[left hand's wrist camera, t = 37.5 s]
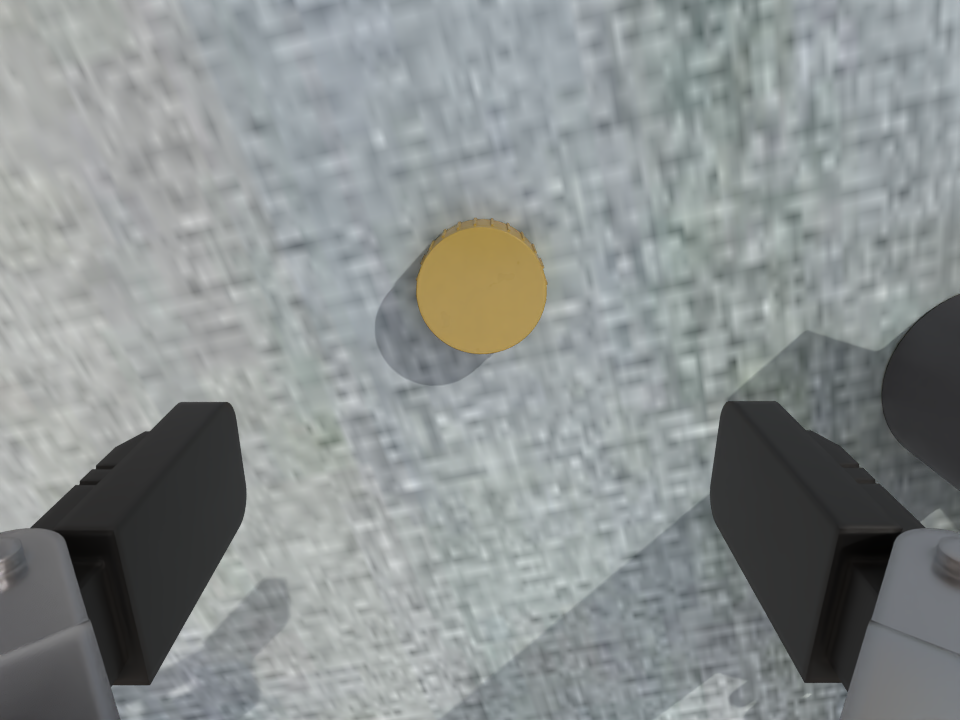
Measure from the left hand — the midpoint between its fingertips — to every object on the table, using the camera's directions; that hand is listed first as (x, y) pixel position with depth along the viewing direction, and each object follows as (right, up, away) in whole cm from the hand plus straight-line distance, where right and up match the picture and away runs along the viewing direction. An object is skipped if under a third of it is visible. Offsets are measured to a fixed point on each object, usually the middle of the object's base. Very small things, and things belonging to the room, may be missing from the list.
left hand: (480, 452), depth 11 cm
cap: (0, +4, +12) cm, 12 cm away
